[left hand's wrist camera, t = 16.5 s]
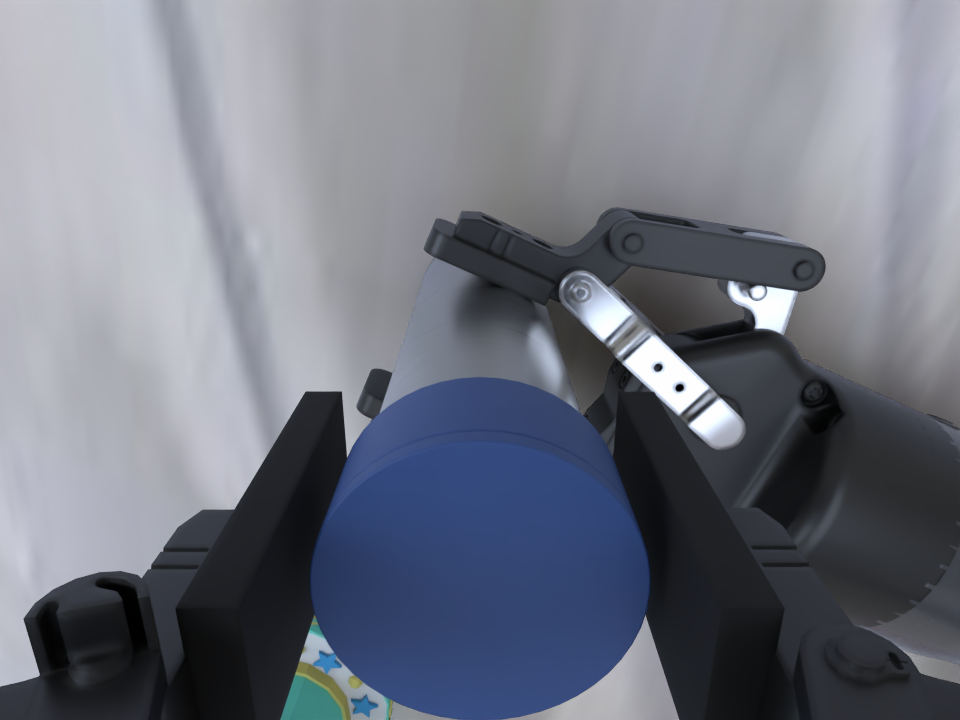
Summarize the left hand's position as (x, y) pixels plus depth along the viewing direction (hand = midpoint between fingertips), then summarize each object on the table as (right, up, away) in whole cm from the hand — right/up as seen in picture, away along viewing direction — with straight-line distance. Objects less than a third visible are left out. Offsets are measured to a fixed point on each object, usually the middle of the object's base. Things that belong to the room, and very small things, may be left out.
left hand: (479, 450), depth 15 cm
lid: (0, -2, -4) cm, 4 cm away
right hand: (-2, +3, +6) cm, 7 cm away
